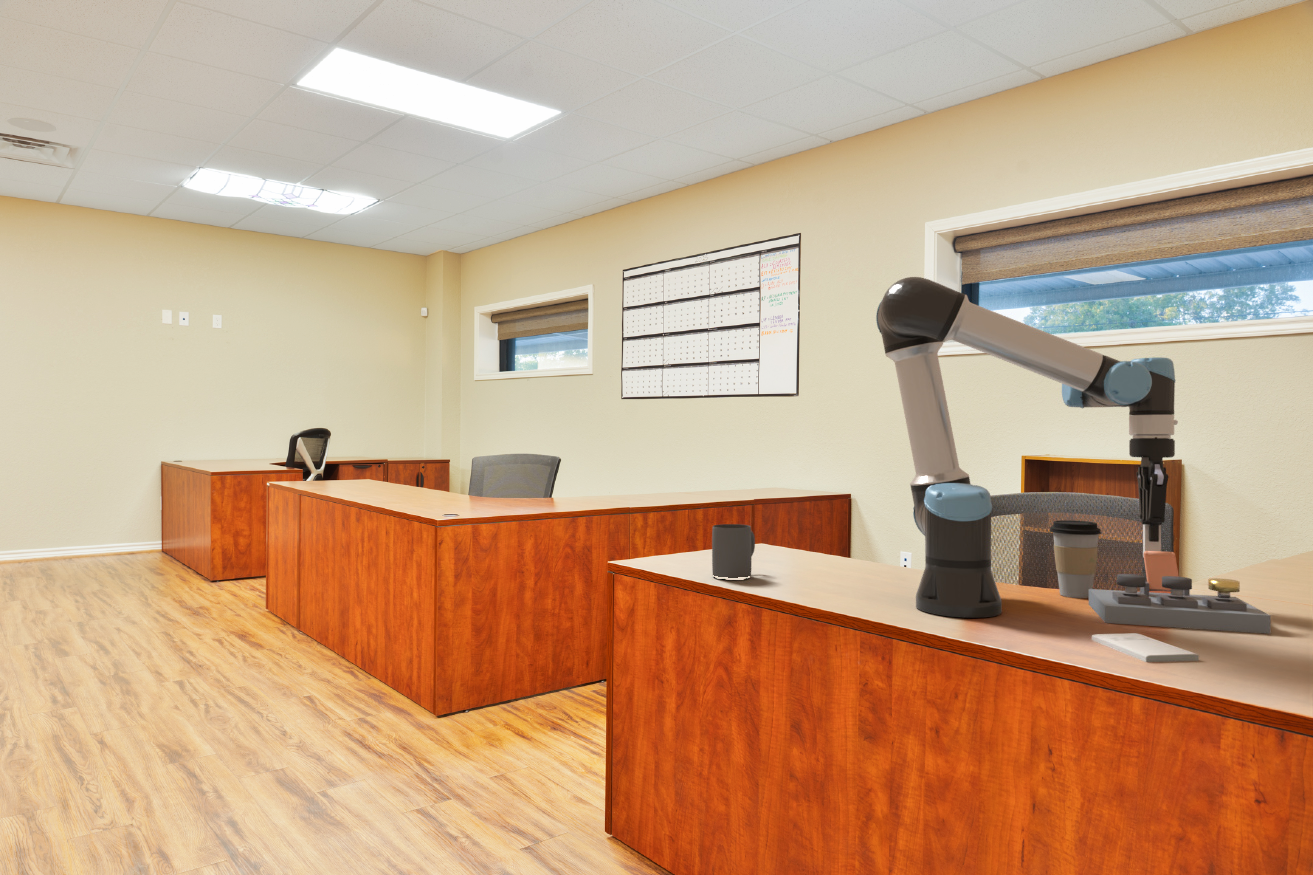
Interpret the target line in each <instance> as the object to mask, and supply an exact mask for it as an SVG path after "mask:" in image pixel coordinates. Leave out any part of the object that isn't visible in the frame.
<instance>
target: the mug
mask: <svg viewBox="0 0 1313 875" xmlns="http://www.w3.org/2000/svg"><path fill="white" fill-rule="evenodd" d="M711 535H712V536H711V547H712V548H711V556H712V558H711V561H712V562H711V564H712V576H713V575H714V576H718V577H728V578H738V577H748V576H751V577H752V557H753V555H754V552H755V548H756V536H755V534H754V532H753V531H752V527H751V525H748V524H739V523H724V524H723V523H721V524H714V525H713V526H712V532H711Z"/></svg>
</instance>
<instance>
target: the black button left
mask: <svg viewBox="0 0 1313 875" xmlns="http://www.w3.org/2000/svg"><path fill="white" fill-rule="evenodd" d="M1146 582H1147V577H1146V575H1139V574H1132V573H1119V574H1116V584H1117V585H1118V586H1122V587H1125V590H1124V591H1125V592H1127V593H1137V592H1138V588H1140V587H1146Z"/></svg>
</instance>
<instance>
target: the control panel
mask: <svg viewBox="0 0 1313 875" xmlns="http://www.w3.org/2000/svg"><path fill="white" fill-rule="evenodd" d="M1190 590H1191V589H1190ZM1190 590H1183V596H1175V595H1171V592H1170V593H1169V592H1155V591H1149V583H1148V582H1147V581H1146V587H1139V591H1137V593H1127V592H1125V590H1114V589H1099V588H1098V589H1095V588H1093V589H1089V598H1088V605H1089V607H1090V608H1092V610H1093V611H1094V612H1095V613H1096V614H1097V615H1098V617H1099V618H1101V619H1102V621H1103V622H1104V623H1107V624H1118V625H1119V624H1121V625H1134V626H1151V627H1165V628H1177V629H1178V628H1181V629H1194V630H1195V629H1197V630H1209V631H1211V630H1212V631H1227V632H1237V633H1238V632H1239V633H1256V634H1268V635H1269V634H1271V615H1270V614H1269V613H1267V612H1264V611H1263V610H1261V609H1259V608H1258V607H1255V606H1253V605H1252V604H1249V603H1248V602H1246V601H1244V600H1243V599H1240V598H1239V597H1236V596H1230V598H1219V597H1218V595H1208V594H1192V593H1191V591H1190Z"/></svg>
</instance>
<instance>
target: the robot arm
mask: <svg viewBox="0 0 1313 875" xmlns="http://www.w3.org/2000/svg"><path fill="white" fill-rule="evenodd" d="M875 318H876V319H875V321H876V326H877V329H878V330H879V333H880V334H881V339H882V343H883V348H884V349H883V350H884V354H885V357H886V358H889V359H890V360H892V362H894V365H895V371H896V377H897V381H898V388H899V392H900V399H901V403H902V407H903V408H902V409H903V413H904V418H905V424H906V428H907V434H908V439H909V444H910V449H911V455H912V460H913V465H914V470H915V475H914V477H913V478H912V480H911V482H910V483H909V485H910V490H911V495H912V501H913V512H912V513H913V520H914V522H915V525H916V527H917V529H918V530H919V532H920V533H921V534H922V535H923V536H924V538H925V539H924V541H925V542H924V543H925V545H924V547H925V548H924V551H925V555H924V556H925V557H924V559H925V560H924V561H925V566H924V571H923V573H922V576H921V579H920V583H919V585H918V587H917V591H916V595H915V608H916V609H917V610H920V611H921V612H925V613H928V614H933V615H938V616H943V617H944V616H945V617H952V618H972V619H974V618H978V619H979V618H990V617H996V616H998V615H1001V614H1002V611H1003V609H1002V604H1003V603H1002V602H1003V601H1002V598H1001V596H1000V592H999V590H998V587H997V584H996V580H995V577H994V574H993V573H992V510H993V504H992V501H991V500H992V498H991V493H990V492H989V490H988V489H987V488H985V487H983V486H981V485H977V484H974V485H973V484H971V479H970V475H969V473H967V472H966V471H965V470H963V469H962V468H961V467H960V464H959V459H958V453H957V448H956V444H955V437H954V434H953V428H952V423H951V417H950V412H949V406H948V402H947V397H946V391H945V386H944V380H943V376H942V371H941V365H940V360H939V355H938V354H939V353H938V352H939V351H940V349H941V348H942V346H943V345H944V343H945V342H947V341H954V342H956V343H960V344H962V345H964V346H966V347H968V348H969V347H970V348H971V349H974V350H977V351H979V352H982V353H985V354H986V355H987V354H988V355H989V356H991V357H994V358H997V359H998V360H1002V361H1004V362H1007V363H1010V364H1012V365H1014V366H1017V367H1020V368H1022V369H1025V370H1027V371H1030V372H1033V373H1035V374H1038V375H1039V376H1042V377H1045V378H1047V379H1050V380H1052V381H1055V382H1057V383H1061V398H1062V401H1063V403H1064V405H1065V406H1067V407H1068V408H1081V409H1084V408H1126V407H1128V408H1129V409H1128V410H1129V413H1128V414H1129V415H1128V434H1129V436H1132V438H1130V440H1128V441H1129V446H1128V447H1129V456H1130V457H1132V458H1141V460H1140V466H1138V467H1137V471H1136V478H1137V480H1136V481H1137V489H1138V505H1139V506H1138V508H1139V519H1140V520H1141V525H1142V557H1143V558H1144V555H1143V553H1144V552H1145V551H1162V534H1161V533H1162V524H1163V523H1165V521H1166V520H1165V519H1166V517H1165V516H1166V501H1167V488H1168V487H1167V486H1168V481H1169V477H1170V476H1169V474H1168V473H1167V468H1166V467H1165V466H1164V460H1163V458H1164V459H1165V458H1174V457H1175V454H1176V450H1175V449H1176V448H1175V446H1176V445H1175V444H1176V440H1174V438H1172V437H1171V436H1174V435H1175V425H1178V422H1179V421H1178V420H1177V419H1175V396H1176V395H1175V390H1176V389H1175V388H1176V385H1175V384H1176V375H1175V367H1174V365H1175V364H1174V361H1173V360H1172V359H1171V358H1168V357H1163V356H1161V357H1155V356H1153V357H1141V358H1133V359H1131V360H1122V361H1121V360H1118V359H1115V358H1113V357H1111V356H1107V355H1104V354H1102V353H1100V352H1097V351H1095V350H1093V349H1090V348H1087V347H1085V346H1083V345H1080V344H1077V343H1075V342H1071V341H1069V340H1067V339H1064V338H1062V337H1059V336H1057V335H1054V334H1051V333H1049V332H1046V331H1044V330H1041V329H1039V328H1036V327H1034V326H1031V325H1030V324H1029V325H1028V324H1026V323H1023V322H1021V321H1018V320H1016V319H1014V318H1011V317H1008V316H1006V315H1003V314H1000V313H999V312H997V311H993V310H990V309H988V308H985V307H982V306H981V305H978V304H975V303H972V302H970V300H969V297H968V295H967V294H965V293H962V292H960V291H957V290H954V289H952V288H950V287H948V286H945V285H943V284H941V283H938V282H936V281H933V280H931V279H928V278H925V277H921V276H920V277H919V276H910V277H905V278H902V279H899V280H897V281H896V282H894V283H893V284H891V286H890V287H888V289H887V290H886V292H885V293H884V294H883V297H882V298H881V300H880V303H879V305H878V306H877V310H876V316H875Z"/></svg>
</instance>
